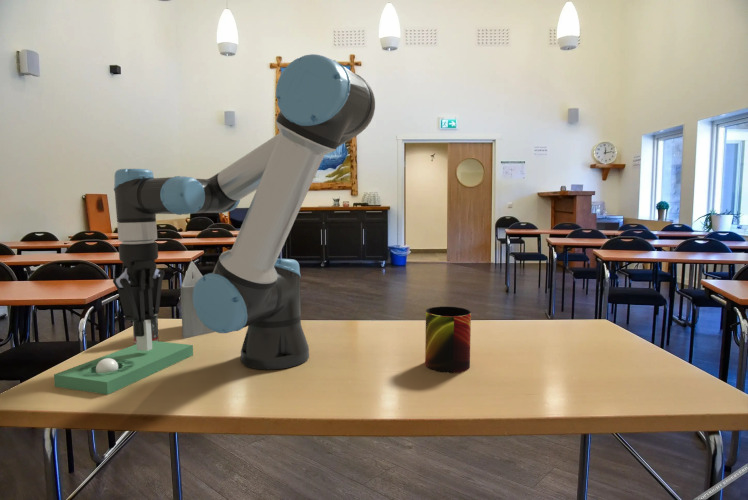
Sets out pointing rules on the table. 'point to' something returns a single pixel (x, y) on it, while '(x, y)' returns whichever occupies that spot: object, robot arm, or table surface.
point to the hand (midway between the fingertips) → (144, 349)
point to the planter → (191, 305)
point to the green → (123, 368)
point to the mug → (448, 339)
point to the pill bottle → (154, 329)
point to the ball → (106, 366)
